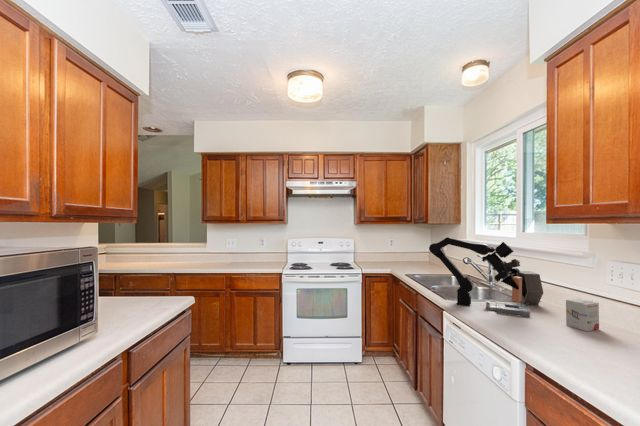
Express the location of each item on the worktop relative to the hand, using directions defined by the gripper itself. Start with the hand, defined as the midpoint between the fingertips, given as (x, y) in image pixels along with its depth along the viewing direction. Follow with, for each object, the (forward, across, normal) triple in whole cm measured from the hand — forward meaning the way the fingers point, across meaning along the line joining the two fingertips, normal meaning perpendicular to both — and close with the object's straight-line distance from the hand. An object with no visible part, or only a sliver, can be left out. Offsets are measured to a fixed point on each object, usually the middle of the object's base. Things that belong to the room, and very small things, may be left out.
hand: (520, 288), depth 157 cm
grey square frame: (+6, +3, +12) cm, 14 cm away
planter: (+5, +28, +13) cm, 32 cm away
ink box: (+26, +2, -8) cm, 28 cm away
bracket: (+1, -3, +18) cm, 18 cm away
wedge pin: (+4, 0, +6) cm, 7 cm away
